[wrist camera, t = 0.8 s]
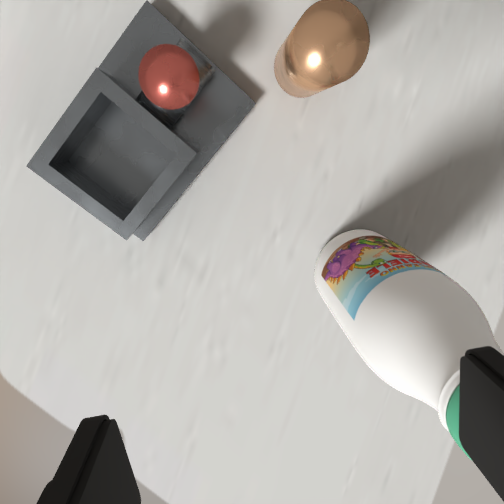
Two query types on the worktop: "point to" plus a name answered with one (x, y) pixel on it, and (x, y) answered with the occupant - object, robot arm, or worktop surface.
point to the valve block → (141, 127)
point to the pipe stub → (322, 48)
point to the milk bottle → (402, 317)
